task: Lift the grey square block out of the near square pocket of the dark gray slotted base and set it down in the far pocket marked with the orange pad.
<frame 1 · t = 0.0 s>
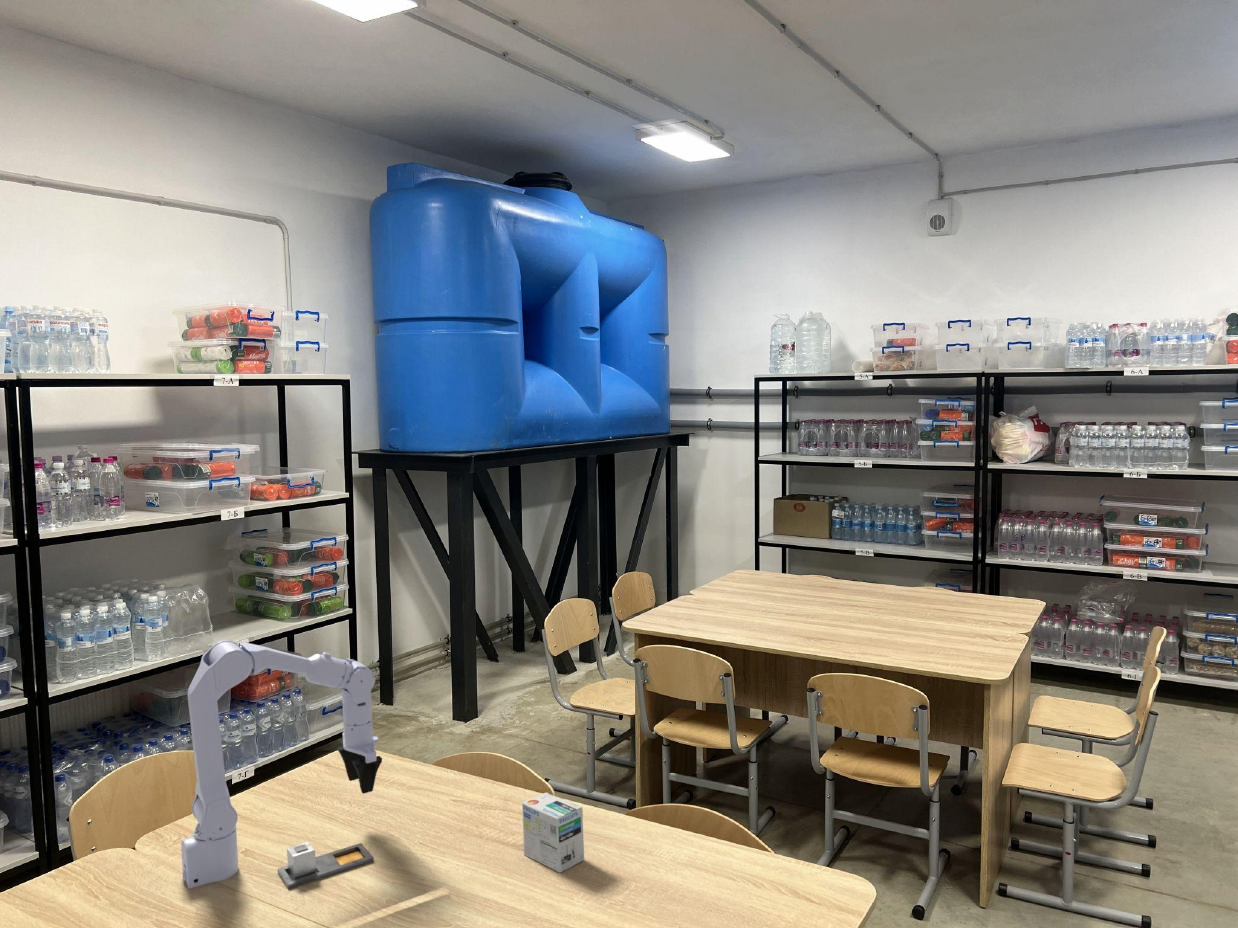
hand: (360, 785, 185), 10 cm above the table, fingers open, 7 cm apart
grey square block: (302, 874, 168), point 1 cm above the table, touching dark gray slotted base
light bulb box: (553, 858, 174), on the table
dark gray slotted base: (326, 871, 171), on the table
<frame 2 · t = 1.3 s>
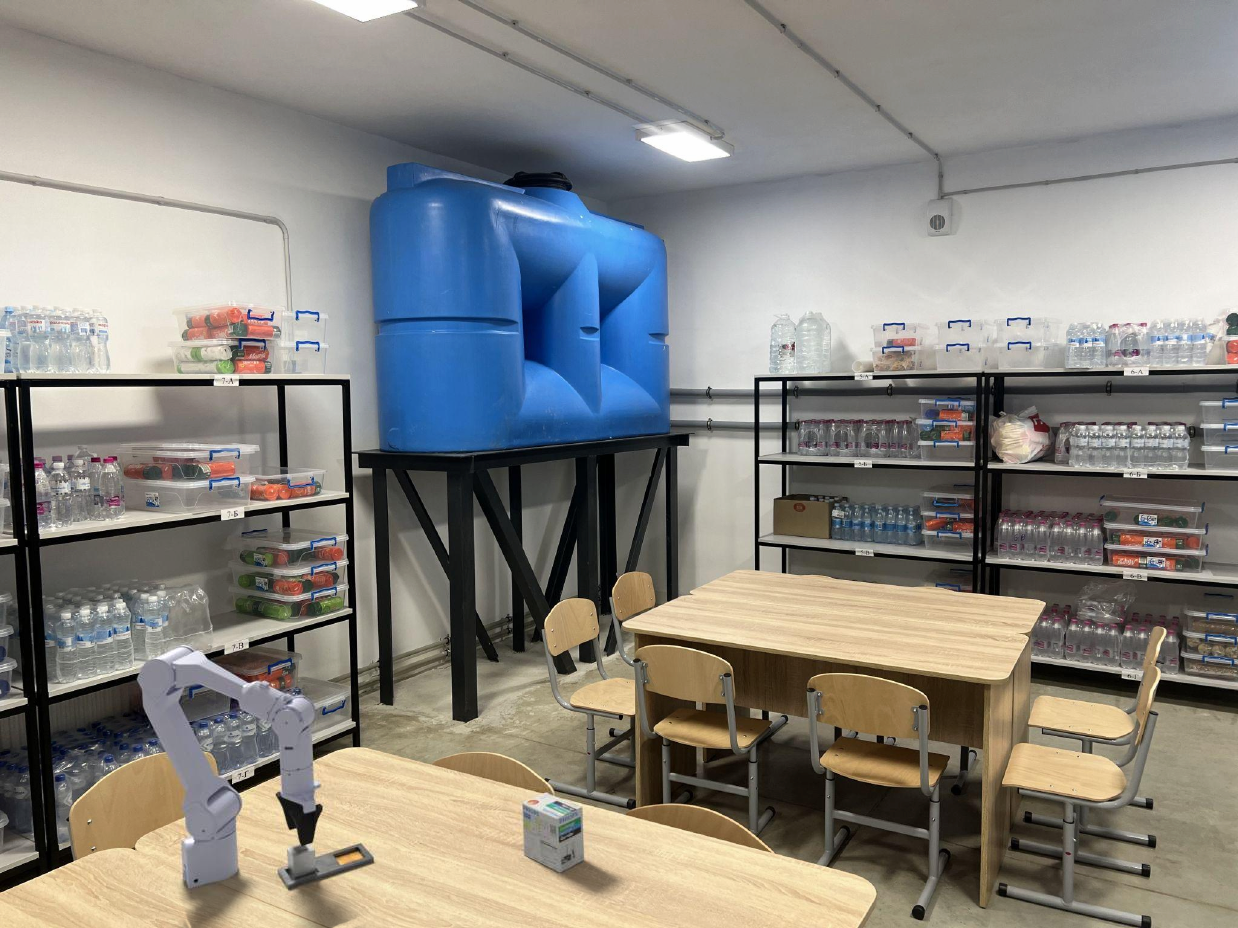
hand: (300, 835, 167), 9 cm above the table, fingers open, 7 cm apart
nothing on the table moved.
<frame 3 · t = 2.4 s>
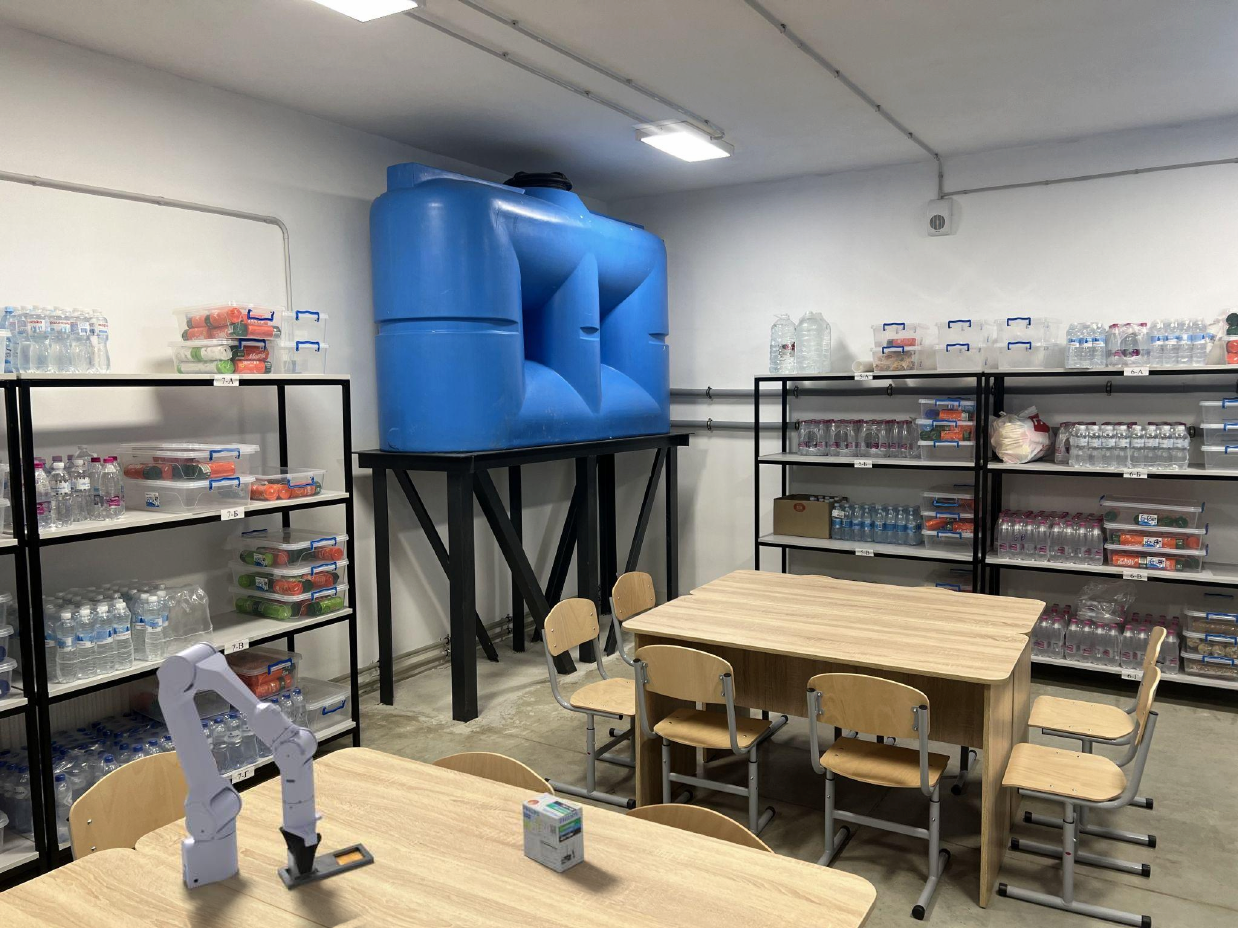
hand: (301, 867, 168), 2 cm above the table, fingers closed on grey square block, 4 cm apart
grey square block: (302, 874, 168), point 1 cm above the table, touching gripper, dark gray slotted base
everything else where it was.
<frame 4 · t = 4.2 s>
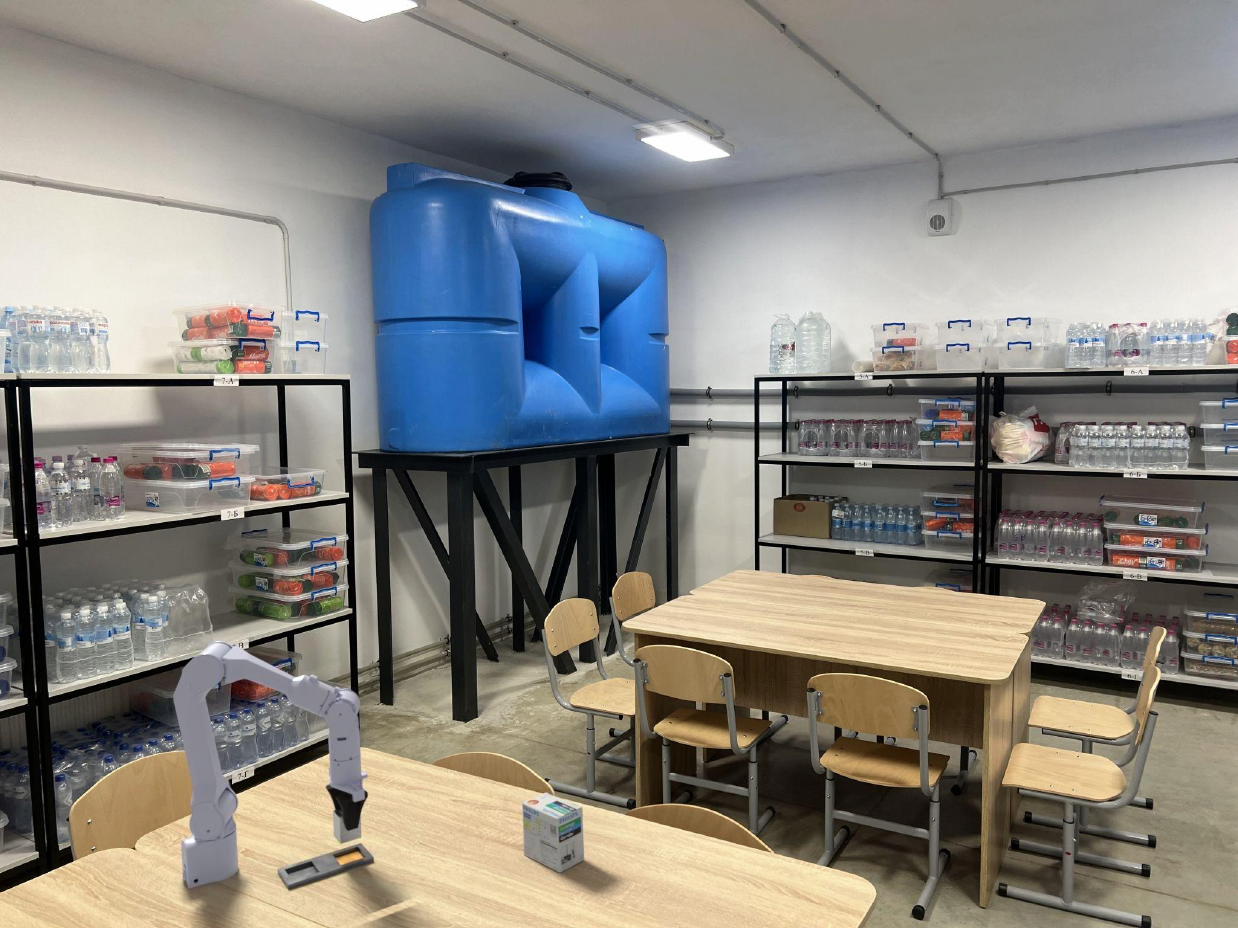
hand: (348, 824, 173), 8 cm above the table, fingers closed on grey square block, 4 cm apart
grey square block: (347, 836, 173), point 6 cm above the table, touching gripper
everything else where it was.
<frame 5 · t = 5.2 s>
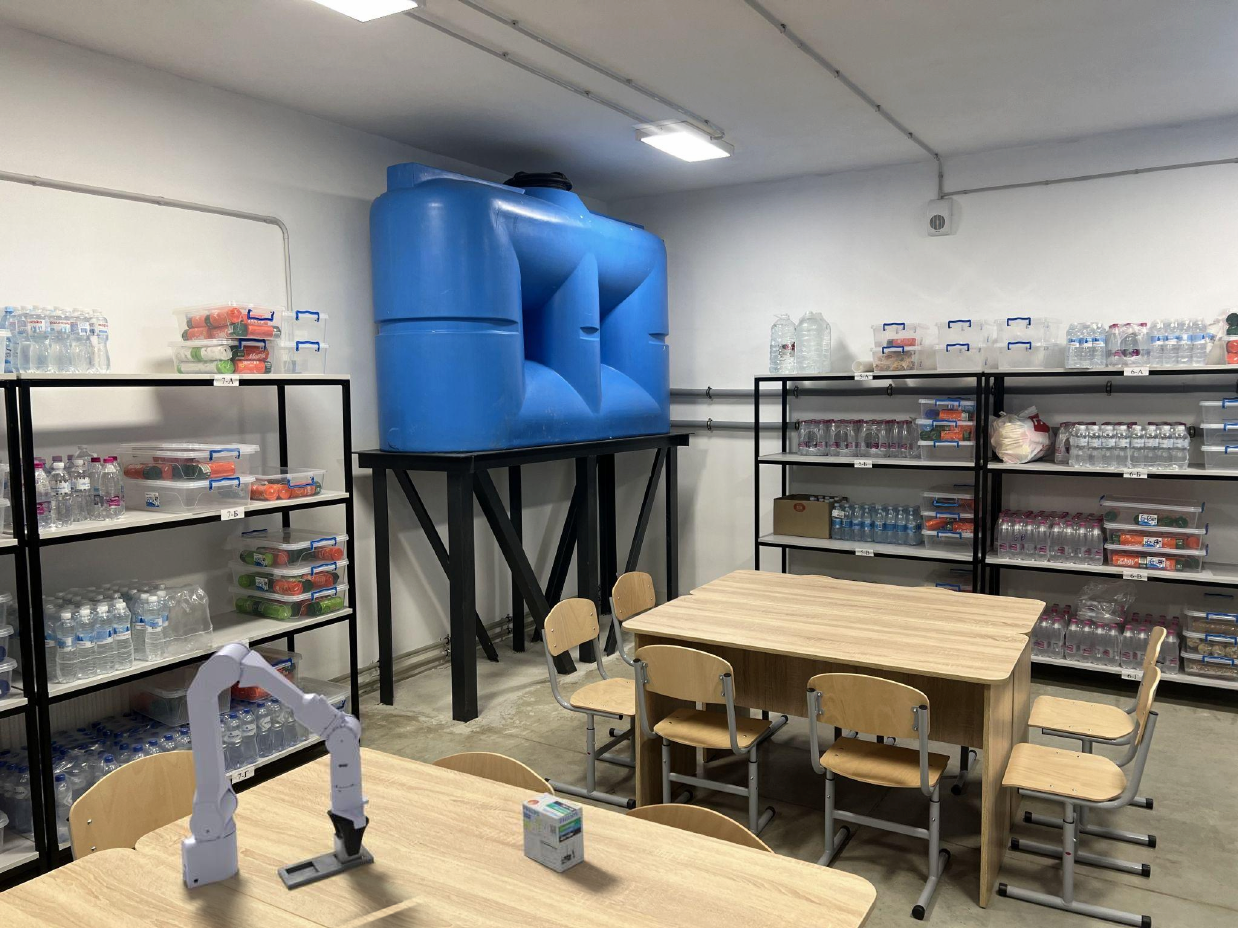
hand: (349, 849, 173), 3 cm above the table, fingers closed on grey square block, 4 cm apart
grey square block: (348, 859, 173), point 1 cm above the table, touching gripper, dark gray slotted base
everything else where it was.
when the fingers open (3 cm above the table, at t = 5.9 s): grey square block stays where it is, resting on dark gray slotted base.
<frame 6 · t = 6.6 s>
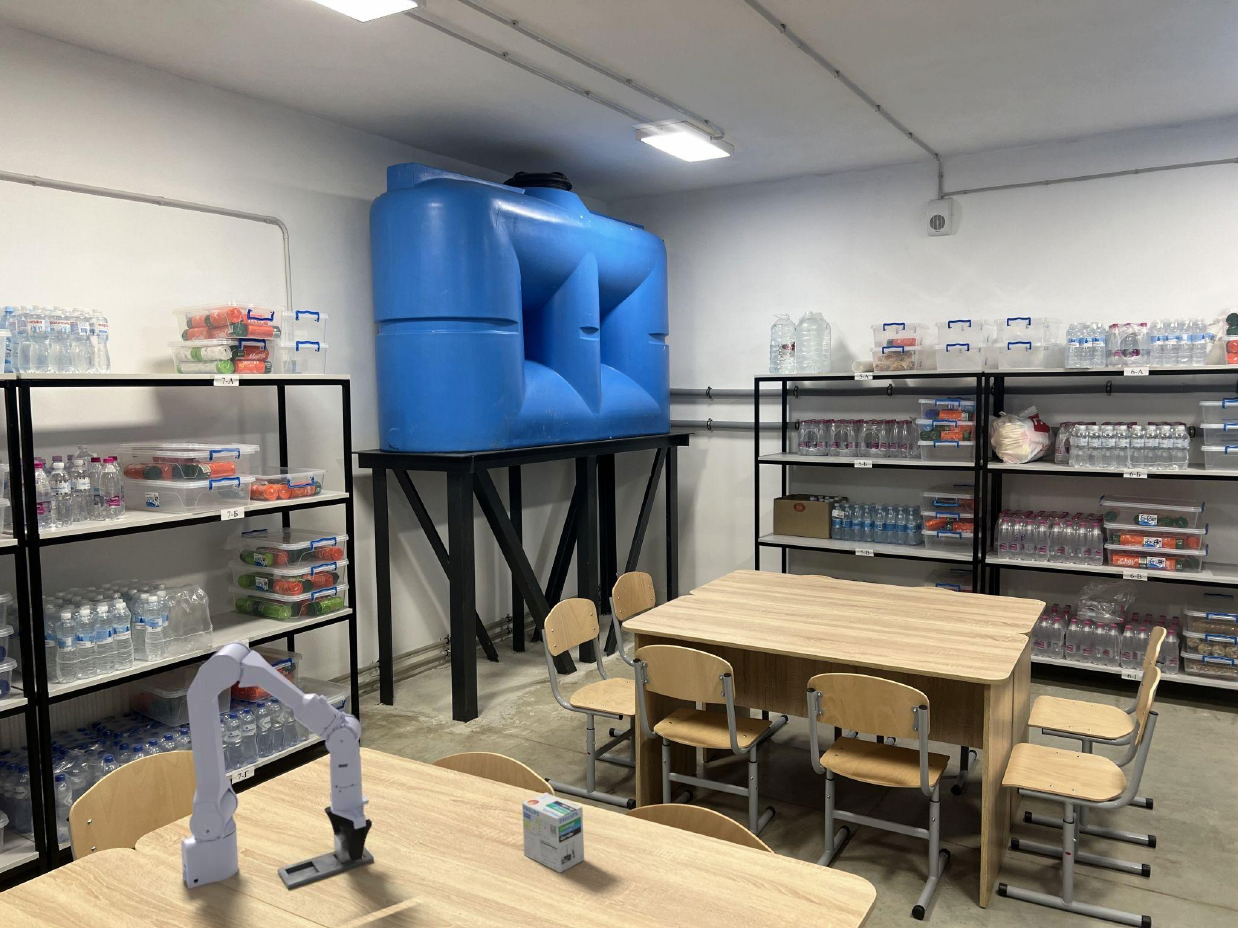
hand: (349, 849, 173), 3 cm above the table, fingers open, 7 cm apart
grey square block: (348, 859, 173), point 1 cm above the table, touching dark gray slotted base
everything else where it was.
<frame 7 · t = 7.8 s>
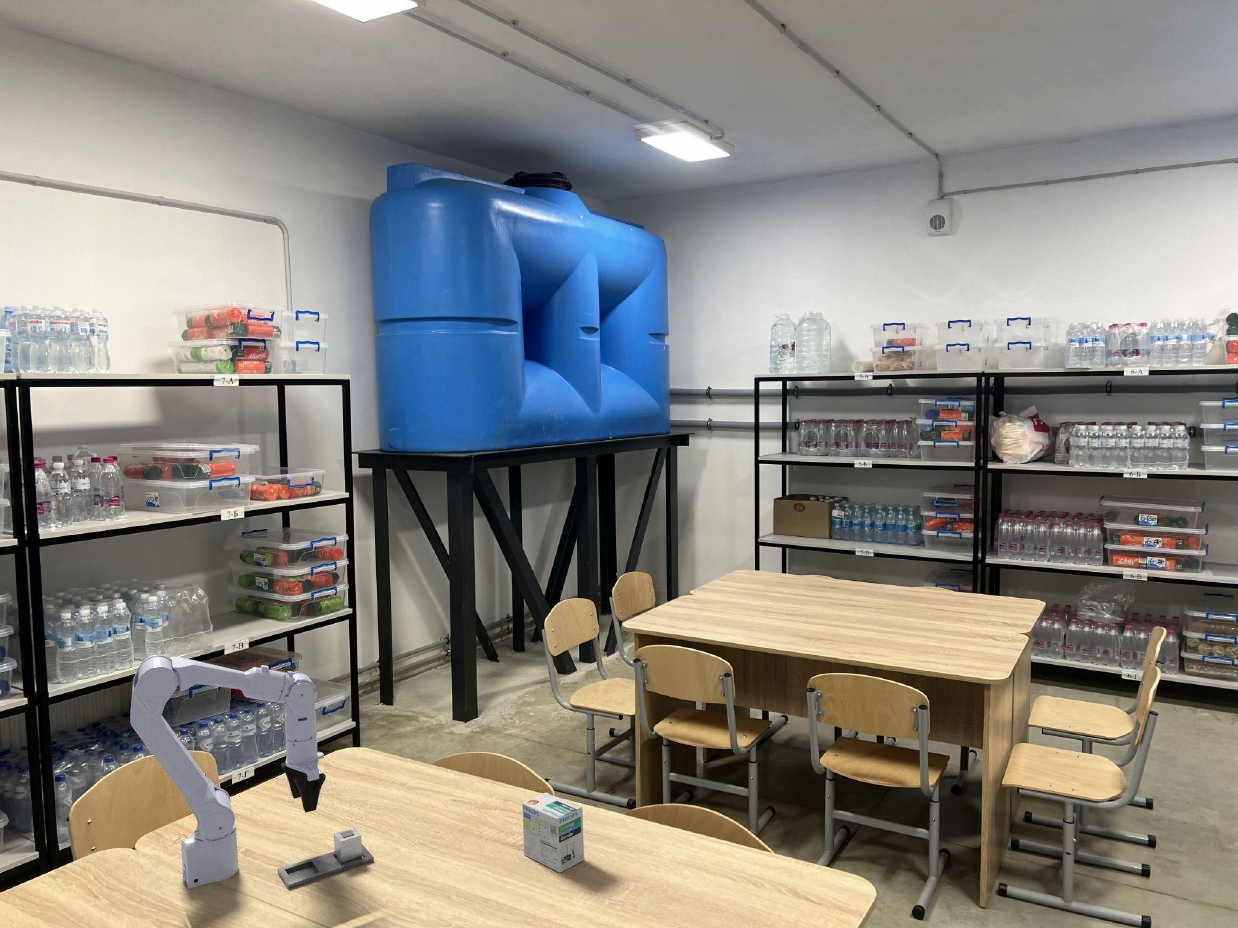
hand: (304, 803, 177), 10 cm above the table, fingers open, 7 cm apart
nothing on the table moved.
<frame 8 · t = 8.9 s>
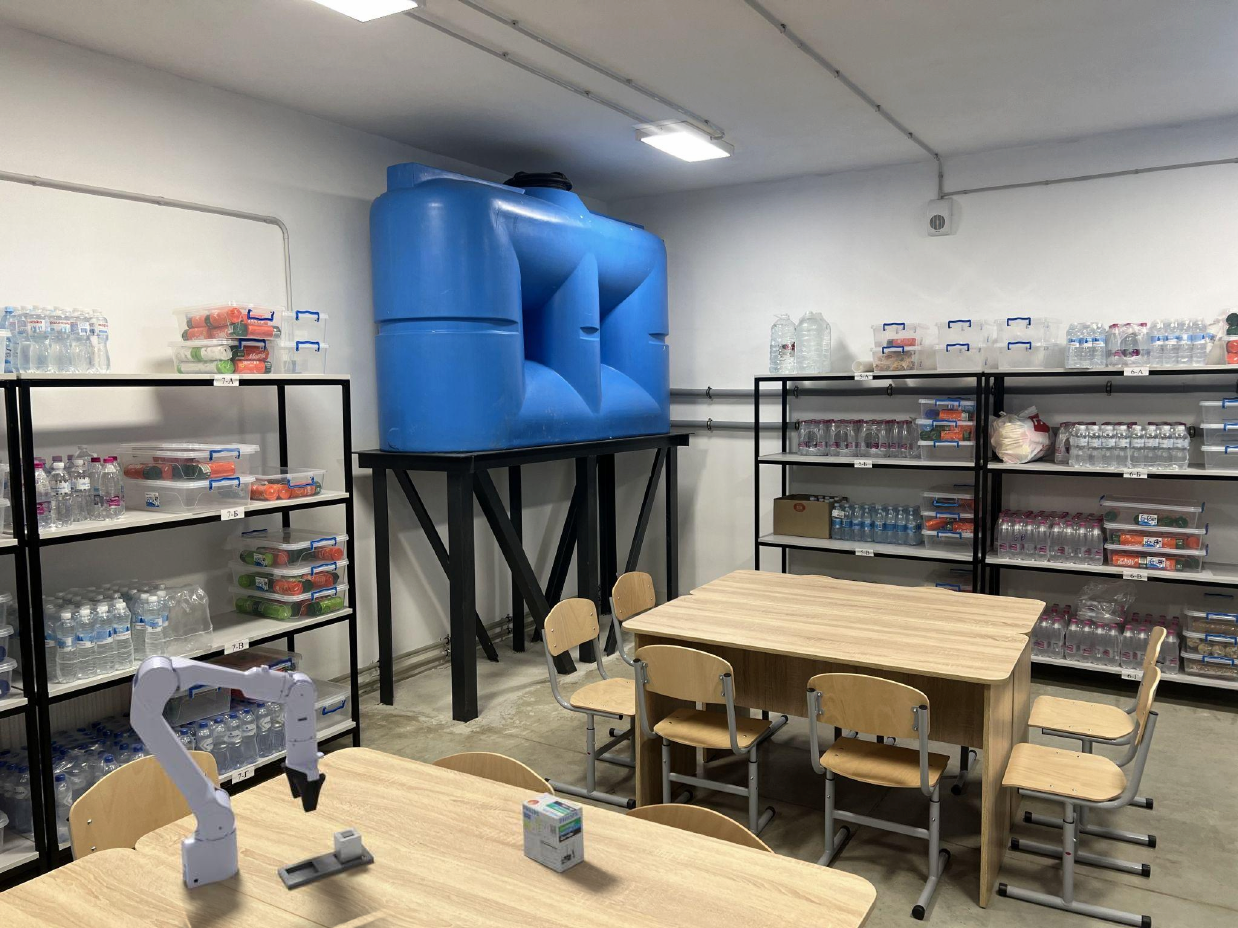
hand: (304, 803, 177), 10 cm above the table, fingers open, 7 cm apart
nothing on the table moved.
at the end: grey square block 0.2 cm from the target spot on the dark gray slotted base, point 1.1 cm above the dark gray slotted base's base; grey square block tilted 0°; the gripper is holding nothing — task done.
